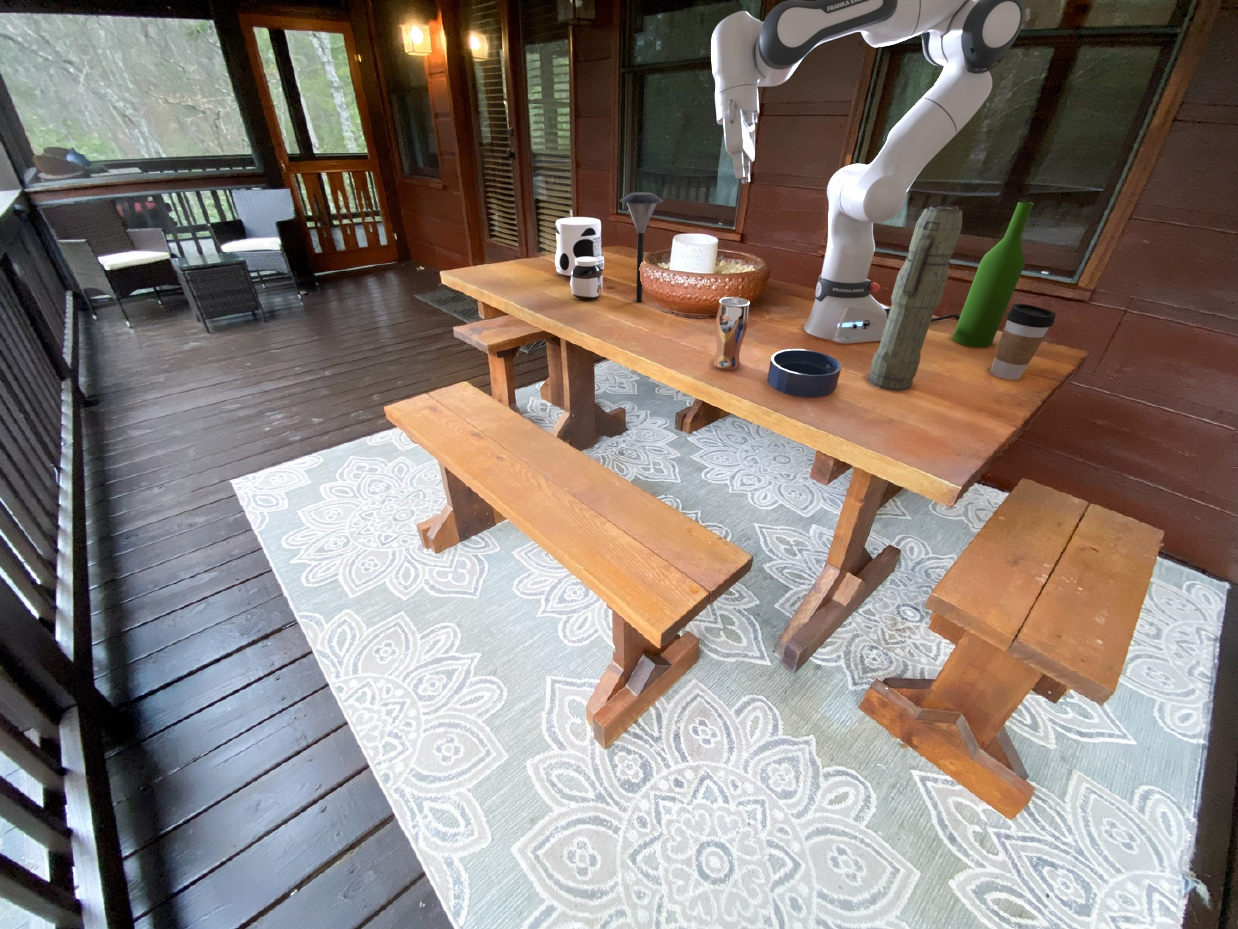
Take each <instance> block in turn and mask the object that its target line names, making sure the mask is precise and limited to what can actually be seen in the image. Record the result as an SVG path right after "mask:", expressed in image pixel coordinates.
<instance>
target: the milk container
mask: <svg viewBox="0 0 1238 929" xmlns="http://www.w3.org/2000/svg"><path fill="white" fill-rule="evenodd" d="M555 240H556V251H555V257H554V265H555V268H556V272H557V273H558V274H559V275H560V276H562V277H564V278H570V279H571V274H572V271H573V269H574V267H575V266H576V264H575V259H576V258H578V257H595V258H597V259H598V264H597V265H598V266H599V267H600V268H601V270H602V272H604V268H605V256H604V253H603V247H602V222H601V220H600V219H599V218H595V217H589V216H571V217H563V218H559V219H556V221H555Z"/></svg>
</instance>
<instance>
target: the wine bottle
mask: <svg viewBox="0 0 1238 929" xmlns="http://www.w3.org/2000/svg"><path fill="white" fill-rule="evenodd" d="M1034 205H1035V203H1033V202H1029V201H1019V202H1017V205H1016V208H1015V210H1014V212H1013V215H1012V217H1011V220H1010V222H1009V224H1008V227H1007V230H1006V232H1005V235H1004V237H1002V239H1001V240H1000V241H998V243H996V244H995V245H994V246H993V247H992V248H991V249H990V250H989V251H987V252H986V253H984V255H983V257H982V258H981V260H980V262H979V264H978V268H977V270H976V273H975V276H974V277H973V280H972V284H971V286H970V289H969V291H968V294H967V297H966V300H965V302H964V305H963V308H962V310H961V313H960V315H959V316H960V318H959V320H957V324H956V327H955V330H954V332H953V335H952V340H953V341H954V342H956V343H957V344H959V345H961V346H966V347H971V348H988V347H991V345H992V344H993V342H994V340H995V338H996V337H995V336H996V335H997V332H998V330H999V327H1000V325H1001V323H1002V320H1003V318H1004V315H1005V313H1006V311H1007V309H1008V306H1009V303H1010V301H1011V299H1012V296H1013V294H1014V291H1015V289H1016V287H1017V284H1018V282H1019V280H1020V277H1021V275H1022V272H1023V270H1024V267H1025V262H1026V258H1025V254H1024V250H1023V247H1022V242H1021V238H1022V235H1023V232H1024V230H1025V228H1026V225H1027V222H1028V220H1029V218H1030V217H1029V216H1030V215H1031V212H1032V209H1033V206H1034Z"/></svg>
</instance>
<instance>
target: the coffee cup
mask: <svg viewBox="0 0 1238 929" xmlns="http://www.w3.org/2000/svg"><path fill="white" fill-rule="evenodd" d="M1005 318H1006V322H1005V326H1004V327H1003V329H1002V333H1001V335H1000V339H999V342H998V346H997V349H996V352H995V355H994V358H993V362H992V365H991V367H990V372H989V373H990V374H991V375H993V376H995V377H997V378H999V379H1003V380H1008V381H1009V380H1010V381H1015V380H1019V379H1021V377H1022V376H1023V374H1024V373H1025V371H1026V369H1027V367H1028V365H1029V364H1030V362H1031V361H1032V359H1033V358H1034V356H1035V354H1036V352H1037V350H1038V349H1039V347H1040V346H1041V344H1042V343H1043V341H1044V339H1045V337H1046V333H1047V332H1048V330H1049V328H1052V326H1053V325H1054V323H1055V319H1056V312H1054V311H1052V310H1049V309H1047V308H1045V307H1039V306H1035V305H1031V304H1026V303H1015V304H1012V306H1011V308H1010V309H1009V311H1008V312H1007V315H1006V317H1005Z"/></svg>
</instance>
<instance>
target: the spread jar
mask: <svg viewBox="0 0 1238 929" xmlns="http://www.w3.org/2000/svg"><path fill="white" fill-rule="evenodd" d="M575 264H576V266H575V267H574V269H573V271H572V274H571V278H570V280H569V285H570V288H571V294H572V296H573V297H574V298H576V299H577V300H579V301H583V302H591V301H596V300H598V299H599V298H600V297H601V295H602V293H603V287H604V286H603V285H604V281H603V280H604V278H603V271H602V270H601V268H600V267H599V266H598V265H597V264H598V259H597V258H595V257H578V258H576V259H575Z"/></svg>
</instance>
